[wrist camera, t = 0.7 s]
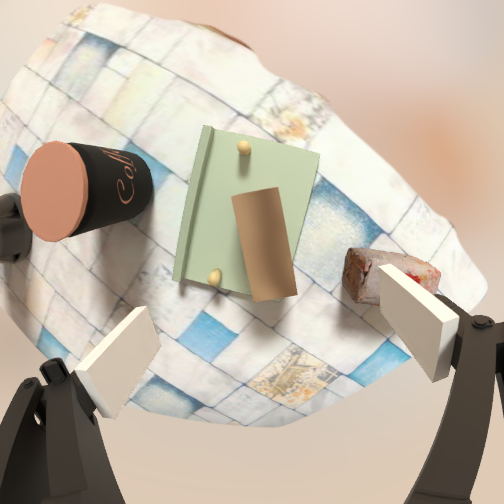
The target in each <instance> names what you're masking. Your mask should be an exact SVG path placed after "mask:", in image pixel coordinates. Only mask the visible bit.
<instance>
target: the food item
mask: <svg viewBox="0 0 504 504" xmlns="http://www.w3.org/2000/svg"><path fill="white" fill-rule="evenodd" d="M387 264H392V265H393V266H395V267H396V268H397V269H399V270H400V271H401V272H403V273H404V274H406V275H407V276H408V277H410V278H411V279H412V280H414V281H415V282H416V283H418V284H419V285H420V286H422V287H423V288H424V289H426V290H427V291H428V292H429V293H431V294H432V295H434V294H436V292H437V290H438V285H439V281H440V277H441V272H440V271H438V270H437V269H436V268H435V267H433V266H432V265H430V264H429V263H427V262H424V261H422V260H420V259H418V258H416V257H413V256H409V255H404V254H399V253H394V252H386V251H379V250H373V249H366V248H349V249H348V252H347V255H346V258H345V267H344V273H343V286H344V288H345V289H346V290H347V291H348V293H349V294H350V296H351V297H352V299H353V300H354V301H355V303H362V304H371V305H378V306H380V289H379V270H378V266H383V265H387Z"/></svg>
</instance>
